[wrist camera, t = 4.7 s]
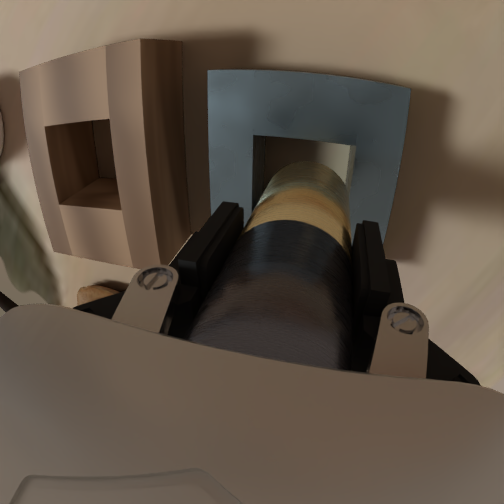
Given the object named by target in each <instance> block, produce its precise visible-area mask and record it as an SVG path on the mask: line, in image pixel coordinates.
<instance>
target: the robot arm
mask: <svg viewBox="0 0 504 504" xmlns="http://www.w3.org/2000/svg"><path fill="white" fill-rule="evenodd" d="M243 228H244V208H243V207H239V204H238V203H234V202H225V201H223V202H222V203H221V204H220V206H219V207H218V208H217V209H216V211H215V212H214V213H213V214H212V216H211V217H210V218H209V219H208V221H207V222H206V223H205V225H204V226H203V227H202V228H201V230H200V231H199V232H195V233H194V234H193V235H192V237H191V238H190V239H189V240H188V242H187V243H186V244H185V245H184V247H183V248H182V249H181V251H180V252H179V253H178V254H177V256H176V257H175V258H174V260H173V261H172V262H171V264H170V265H169V266H168V265H162V264H159V265H151V266H147V267H145V268H142V269H141V270H139V271H138V272H137V273H136V274H135V275H134V276H133V278H132V280H131V282H130V284H129V286H128V288H127V290H126V291H123V292H119V293H116V294H113V295H110V296H107V297H103V298H100V299H97V300H94V301H91V302H87V303H84V304H81V305H78V306H76V307H74V308H73V309H72V308H69V307H64V306H59V305H51V304H27V305H21V306H17V307H15V308H12V309H11V310H9V311H8V312H6V313H5V314H4V315H3V316H1V317H0V504H504V394H502V393H500V392H498V391H495V390H493V389H490V388H487V387H483V386H480V384H479V382H478V380H477V379H476V378H475V377H474V376H473V375H472V374H471V373H470V372H468V371H467V370H466V369H465V368H464V367H463V366H461V365H460V364H459V363H458V362H456V361H455V360H454V359H453V358H452V357H450V356H449V355H448V354H447V353H446V352H444V351H443V350H442V349H441V348H439V347H438V346H437V345H436V344H435V343H433V342H432V341H431V340H430V339H428V336H429V324H428V320H427V318H426V316H425V315H424V314H423V313H422V312H421V310H419V309H418V308H416V307H414V306H412V305H410V304H406V303H404V298H403V293H402V288H401V283H400V278H399V273H398V268H397V263H396V261H394V260H388V259H385V254H384V249H383V244H382V238H381V233H380V228H379V224H378V222H373V221H367V220H363V221H362V224H360V223H357V224H356V229H355V234H354V239H353V244H352V272H353V340H352V369H351V371H349V370H341V369H334V368H327V367H321V366H314V365H308V364H302V363H296V362H290V361H284V360H279V359H273V358H268V357H263V356H257V355H252V354H247V353H242V352H238V351H233V350H228V349H224V348H219V347H215V346H210V345H206V344H201V343H197V342H193V341H189V340H185V339H184V337H185V335H186V333H187V331H188V329H189V327H190V326H191V324H192V322H193V320H194V318H195V316H196V314H197V313H198V311H199V309H200V307H201V305H202V303H203V301H204V300H205V298H206V296H207V294H208V292H209V290H210V289H211V287H212V285H213V283H214V281H215V279H216V278H217V276H218V274H219V272H220V270H221V268H222V267H223V265H224V263H225V261H226V259H227V257H228V256H229V254H230V252H231V250H232V248H233V247H234V245H235V243H236V241H237V239H238V237H239V236H240V234H241V232H242V230H243Z"/></svg>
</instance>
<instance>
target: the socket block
mask: <svg viewBox="0 0 504 504" xmlns="http://www.w3.org/2000/svg"><path fill="white" fill-rule="evenodd" d="M410 93H411V89H410V88H406V87H403V86H399V85H395V84H390V83H384V82H379V81H373V80H367V79H361V78H354V77H347V76H340V75H331V74H322V73H312V72H301V71H286V70H266V69H218V70H208V139H209V174H210V201H211V216H212V214H213V213H214V212H215V211H216V209H217V208H218V207H219V206H220V204H221V203H222V202H223V201H225V202H234V203H238V204H239V207H243V208H244V227H245V225H246V223H247V221H248V219H249V218H250V216H251V214H252V212H253V211H254V209H255V207H256V205H257V203H258V202H259V200H260V198H261V196H262V194H263V192H264V164H265V136H274V137H286V138H296V139H306V140H315V141H323V142H331V143H338V144H346V145H350V153H349V161H348V169H347V177H346V184H345V186H346V188H347V191H348V196H349V206H350V222H351V242H352V244H353V239H354V234H355V229H356V224H357V223H360V224H362V221H363V220H367V221H373V222H378V224H379V228H380V233H381V238H382V244H383V242H384V238H385V234H386V230H387V226H388V222H389V217H390V213H391V209H392V204H393V199H394V194H395V190H396V185H397V179H398V174H399V169H400V163H401V157H402V152H403V145H404V139H405V132H406V125H407V118H408V110H409V102H410Z"/></svg>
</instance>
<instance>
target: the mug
mask: <svg viewBox="0 0 504 504" xmlns="http://www.w3.org/2000/svg"><path fill="white" fill-rule="evenodd" d="M3 142H4V129H3V120H2V115H1V111H0V155H1V153H2V148H3Z"/></svg>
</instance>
